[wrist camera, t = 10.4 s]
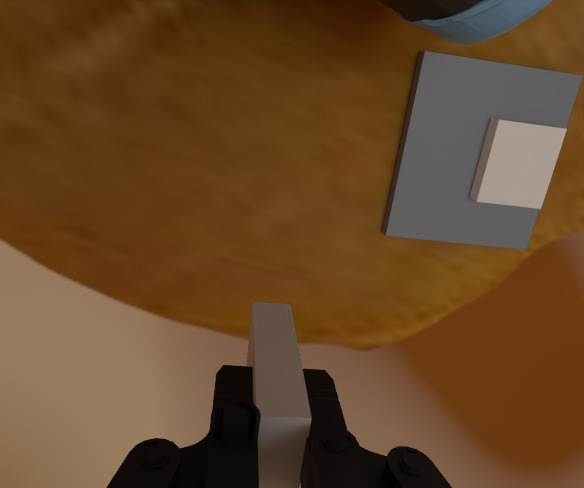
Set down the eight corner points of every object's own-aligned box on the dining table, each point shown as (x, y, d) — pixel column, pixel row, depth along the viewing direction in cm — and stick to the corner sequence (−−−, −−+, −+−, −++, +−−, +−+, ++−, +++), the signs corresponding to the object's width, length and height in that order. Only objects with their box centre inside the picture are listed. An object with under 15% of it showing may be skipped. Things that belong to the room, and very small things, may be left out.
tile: (499, 119, 43) (566, 128, 44) (489, 118, 45) (555, 127, 45) (476, 201, 46) (540, 208, 46) (468, 197, 47) (531, 204, 48)
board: (419, 51, 43) (424, 50, 42) (572, 75, 45) (582, 75, 44) (381, 231, 49) (385, 235, 48) (518, 244, 51) (526, 249, 50)
